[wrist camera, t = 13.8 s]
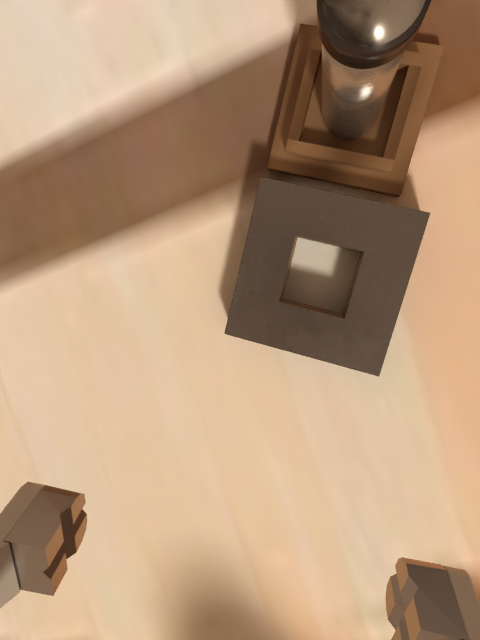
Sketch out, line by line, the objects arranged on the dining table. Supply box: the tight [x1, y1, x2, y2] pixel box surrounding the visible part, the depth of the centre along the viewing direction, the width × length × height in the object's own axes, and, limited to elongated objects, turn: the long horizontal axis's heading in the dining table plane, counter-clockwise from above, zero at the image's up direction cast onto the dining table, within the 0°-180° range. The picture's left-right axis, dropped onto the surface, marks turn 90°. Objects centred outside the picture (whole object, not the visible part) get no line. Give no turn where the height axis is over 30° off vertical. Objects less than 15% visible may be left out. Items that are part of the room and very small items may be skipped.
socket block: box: [225, 177, 430, 376], centre depth 31 cm, size 12×12×2 cm
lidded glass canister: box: [317, 0, 431, 140], centre depth 23 cm, size 4×4×14 cm
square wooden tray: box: [267, 24, 445, 197], centre depth 30 cm, size 10×10×2 cm
